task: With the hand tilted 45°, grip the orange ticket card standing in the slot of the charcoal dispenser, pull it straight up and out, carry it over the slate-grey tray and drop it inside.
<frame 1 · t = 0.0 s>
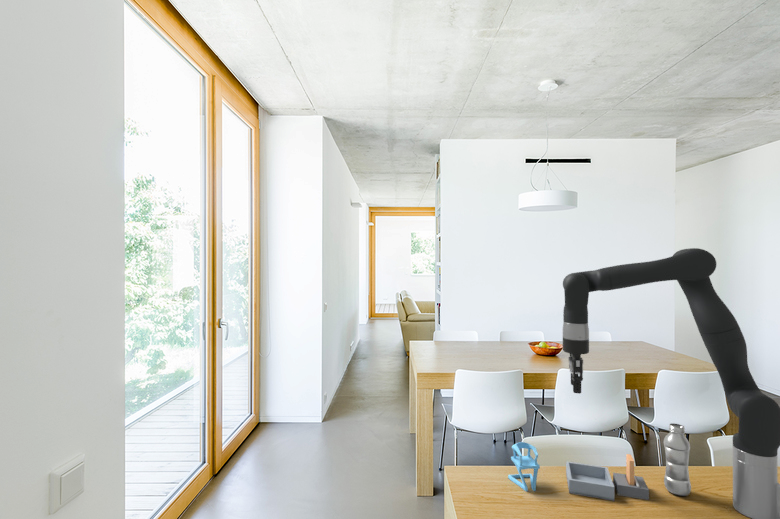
hand: (575, 388, 127), 29 cm above the table, tool pointing down, fingers open, 8 cm apart
chair: (525, 484, 126), on the table
ticket dispenser: (630, 490, 123), on the table
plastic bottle: (677, 493, 122), on the table
tray: (588, 486, 125), on the table
ticket card: (630, 490, 123), resting in ticket dispenser
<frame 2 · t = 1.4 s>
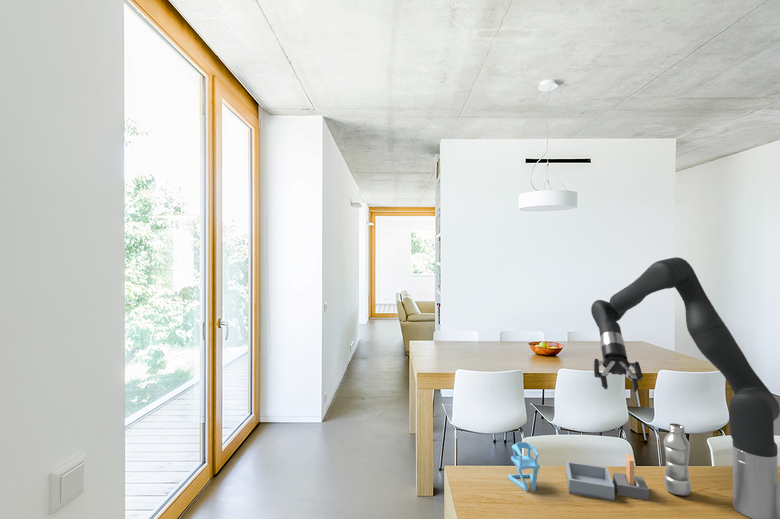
hand: (620, 389, 135), 27 cm above the table, tool tilted 45°, fingers open, 8 cm apart
nothing on the table moved.
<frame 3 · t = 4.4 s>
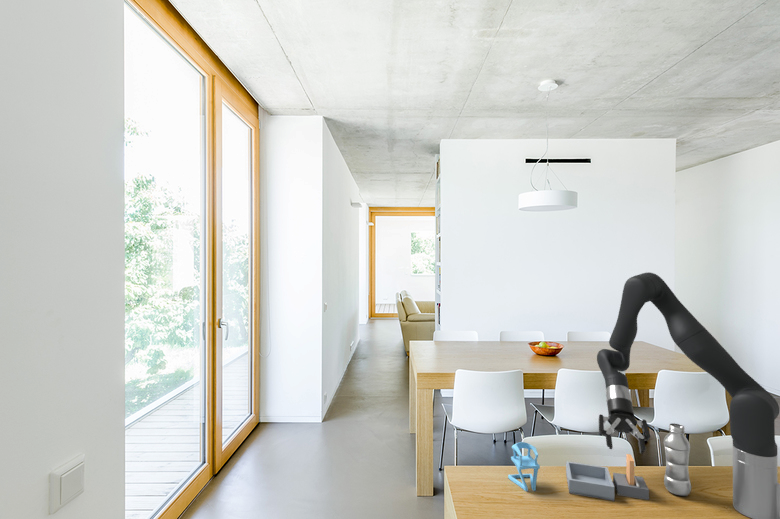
hand: (626, 450, 128), 10 cm above the table, tool tilted 45°, fingers open, 8 cm apart
nothing on the table moved.
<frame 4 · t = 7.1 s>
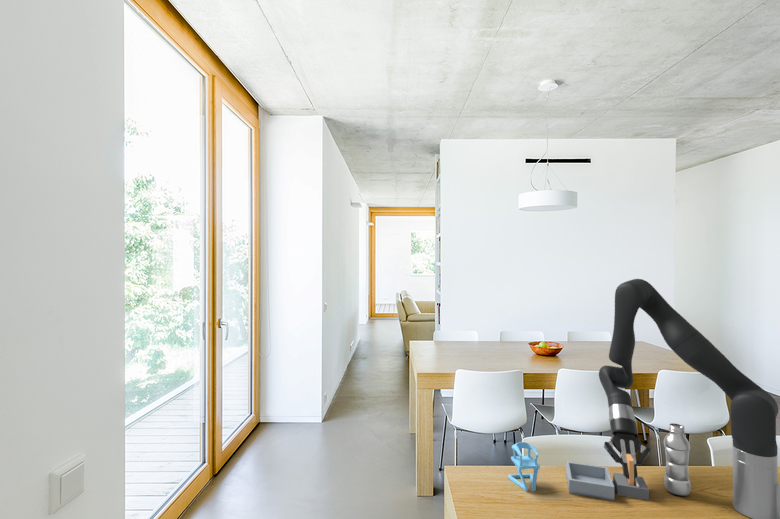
hand: (631, 478, 121), 4 cm above the table, tool tilted 45°, fingers closed on ticket card, 1 cm apart
ticket card: (630, 490, 123), resting in ticket dispenser, touching gripper
everything else where it was.
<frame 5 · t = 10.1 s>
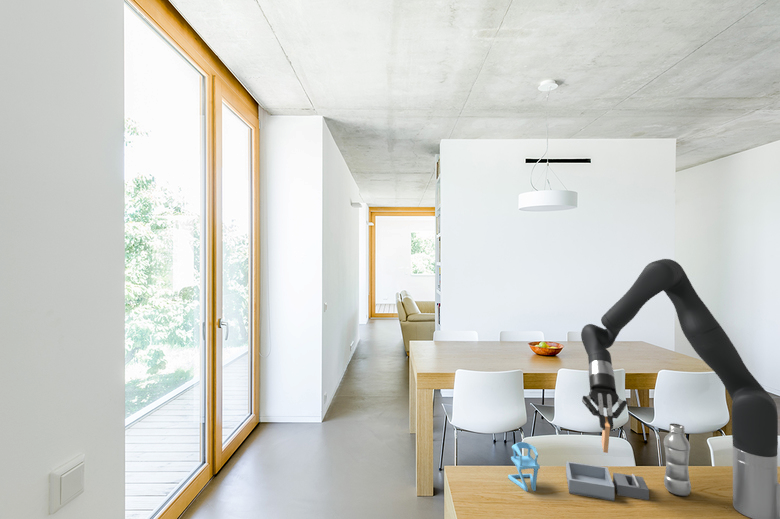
hand: (607, 429, 123), 18 cm above the table, tool tilted 45°, fingers closed on ticket card, 1 cm apart
ticket card: (604, 447, 128), point 11 cm above the table, tilted 21°, touching gripper
everything else where it was.
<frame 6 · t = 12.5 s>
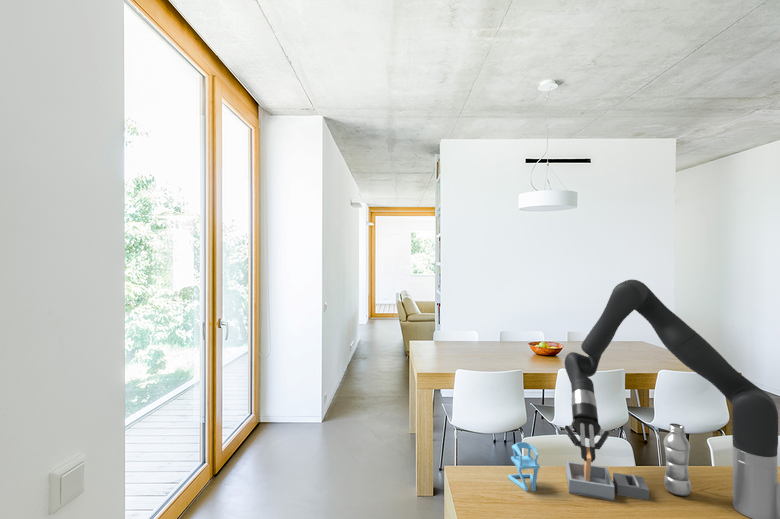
hand: (588, 460, 123), 9 cm above the table, tool tilted 45°, fingers closed on ticket card, 1 cm apart
ticket card: (586, 476, 128), point 1 cm above the table, tilted 22°, touching gripper, tray
everything else where it was.
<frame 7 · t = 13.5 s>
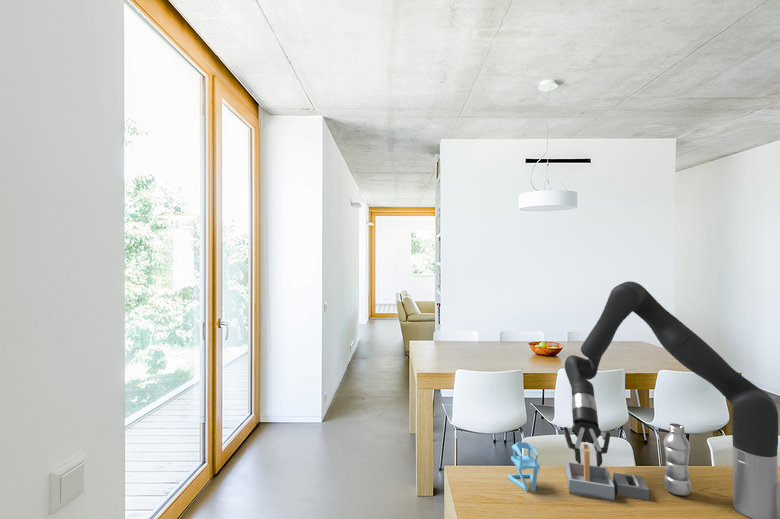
hand: (589, 464, 124), 7 cm above the table, tool tilted 45°, fingers open, 4 cm apart
ticket card: (586, 479, 128), point 1 cm above the table, touching tray
everything else where it was.
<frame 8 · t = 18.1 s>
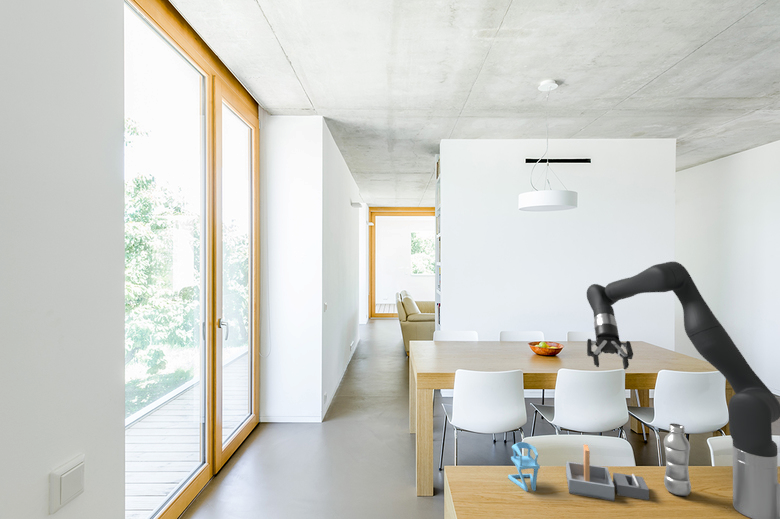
hand: (611, 367, 141), 33 cm above the table, tool tilted 45°, fingers open, 8 cm apart
nothing on the table moved.
at the end: ticket card inside the target area on the tray (2.8 cm from its centre), point 0.6 cm above the tray's base; the gripper is holding nothing; ticket card touching tray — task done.
